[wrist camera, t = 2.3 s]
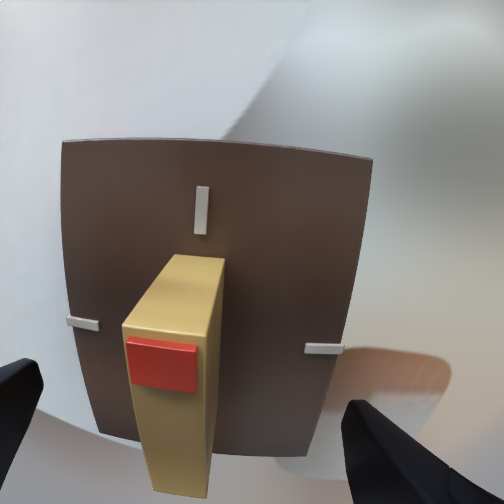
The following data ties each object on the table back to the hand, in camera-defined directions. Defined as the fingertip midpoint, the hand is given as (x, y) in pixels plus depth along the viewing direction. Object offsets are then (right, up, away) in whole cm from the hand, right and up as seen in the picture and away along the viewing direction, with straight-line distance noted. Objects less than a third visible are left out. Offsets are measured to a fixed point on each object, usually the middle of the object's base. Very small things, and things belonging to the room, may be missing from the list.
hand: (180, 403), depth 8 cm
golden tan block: (0, +1, +3) cm, 3 cm away
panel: (0, +2, +6) cm, 6 cm away
